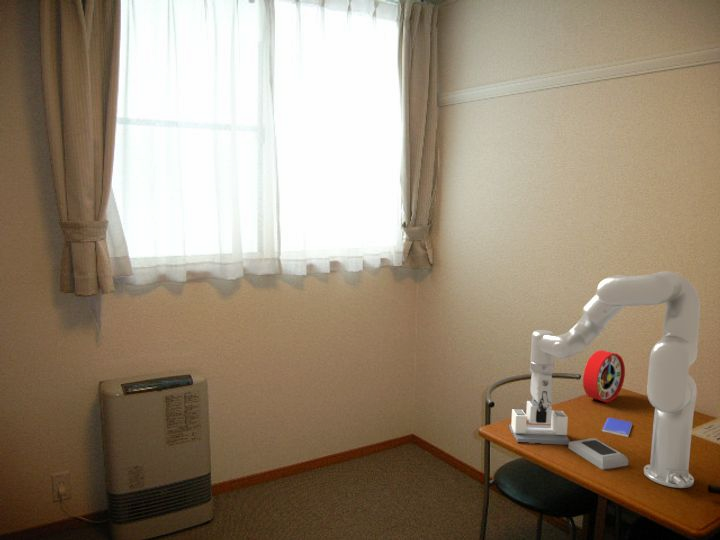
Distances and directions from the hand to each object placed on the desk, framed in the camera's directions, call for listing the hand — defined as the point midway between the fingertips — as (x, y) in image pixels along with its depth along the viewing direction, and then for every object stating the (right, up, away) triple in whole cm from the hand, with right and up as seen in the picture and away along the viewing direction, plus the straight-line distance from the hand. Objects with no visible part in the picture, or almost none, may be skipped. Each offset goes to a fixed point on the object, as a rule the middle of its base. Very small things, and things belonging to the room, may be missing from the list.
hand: (538, 418), depth 181 cm
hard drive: (+31, -6, +8) cm, 33 cm away
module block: (0, -1, 0) cm, 1 cm away
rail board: (0, -6, +1) cm, 6 cm away
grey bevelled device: (+14, -9, -14) cm, 21 cm away
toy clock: (+39, -3, +37) cm, 53 cm away
